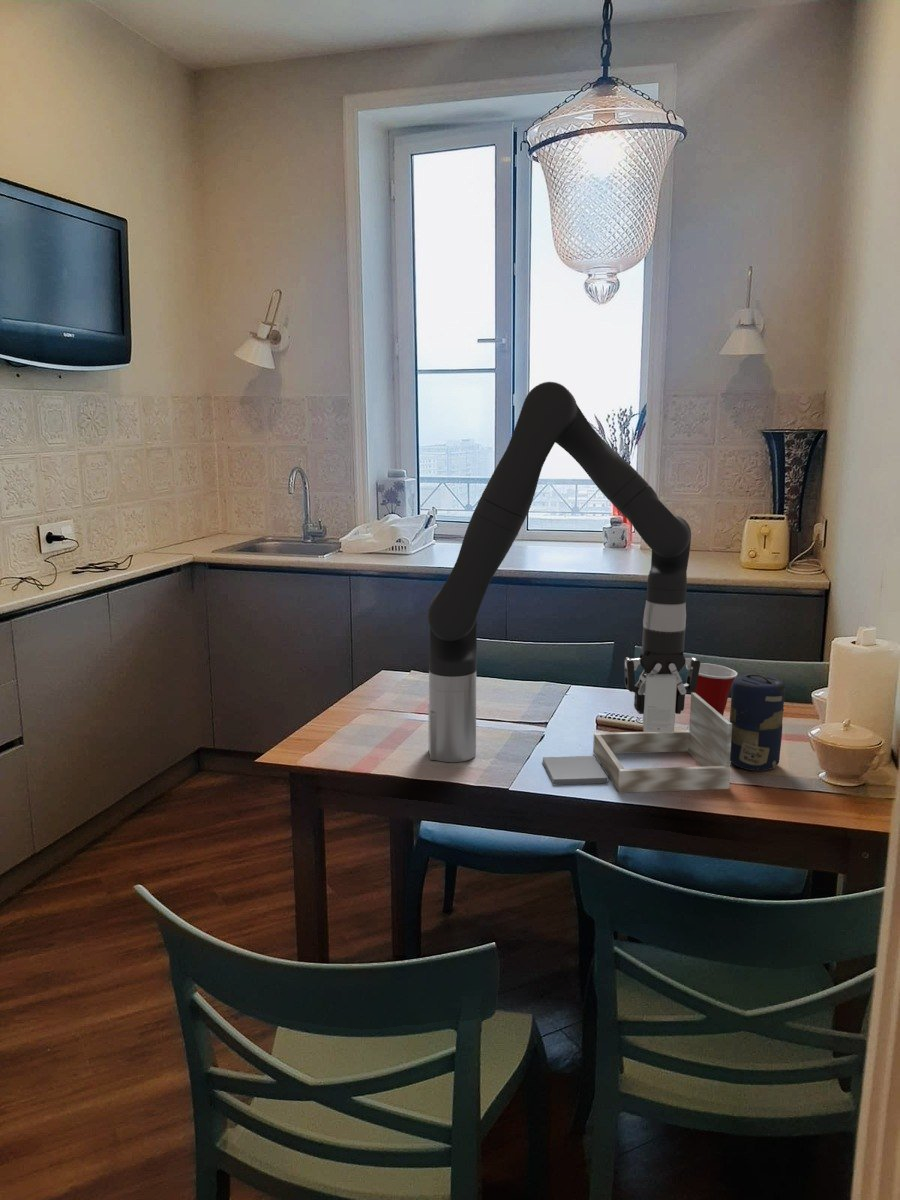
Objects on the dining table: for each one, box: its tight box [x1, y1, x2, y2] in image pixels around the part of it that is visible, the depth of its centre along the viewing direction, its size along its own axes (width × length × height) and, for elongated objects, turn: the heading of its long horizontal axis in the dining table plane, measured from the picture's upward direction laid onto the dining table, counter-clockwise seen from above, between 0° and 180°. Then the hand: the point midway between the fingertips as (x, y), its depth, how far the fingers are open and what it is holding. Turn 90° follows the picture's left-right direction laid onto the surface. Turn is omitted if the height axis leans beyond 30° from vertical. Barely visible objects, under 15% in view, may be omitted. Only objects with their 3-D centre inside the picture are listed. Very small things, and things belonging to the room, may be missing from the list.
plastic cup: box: [686, 662, 738, 717], centre depth 196 cm, size 11×11×12 cm
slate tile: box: [542, 755, 609, 785], centre depth 168 cm, size 10×11×1 cm
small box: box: [642, 673, 677, 734], centre depth 166 cm, size 8×6×10 cm
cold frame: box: [592, 692, 732, 793], centre depth 168 cm, size 20×20×12 cm
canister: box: [729, 673, 786, 771], centre depth 170 cm, size 10×10×18 cm
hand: (658, 712), depth 167 cm, fingers closed on small box, 6 cm apart
